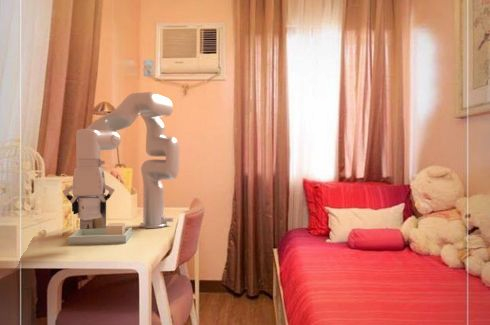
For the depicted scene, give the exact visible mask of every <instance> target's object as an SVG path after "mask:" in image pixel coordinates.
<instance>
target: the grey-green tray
mask: <svg viewBox="0 0 490 325" xmlns="http://www.w3.org/2000/svg"><path fill="white" fill-rule="evenodd" d="M132 235H133V227H125V234H124V235H106V228H101V229H80V228H79V229H78V230H77V231H75V232H74V233H72V234H71V235H69V236H68V237H67V245H68V246H81V245H82V246H84V245H85V246H86V245H88V246H89V245H109V244H114V245H115V244H116V245H117V244H126V243H128V241H129V240H130V238H131V237H132Z"/></svg>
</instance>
